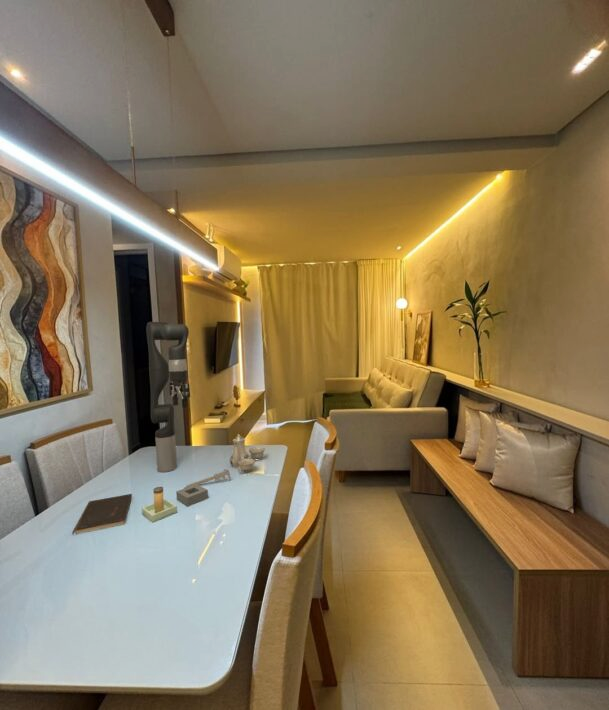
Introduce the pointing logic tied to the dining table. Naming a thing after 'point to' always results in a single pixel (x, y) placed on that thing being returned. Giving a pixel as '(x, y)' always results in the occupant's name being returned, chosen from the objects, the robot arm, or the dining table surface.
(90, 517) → the hardcover book
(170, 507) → the parts tray
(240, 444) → the chinaware
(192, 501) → the socket block
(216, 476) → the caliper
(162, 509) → the fuse
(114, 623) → the dining table surface
